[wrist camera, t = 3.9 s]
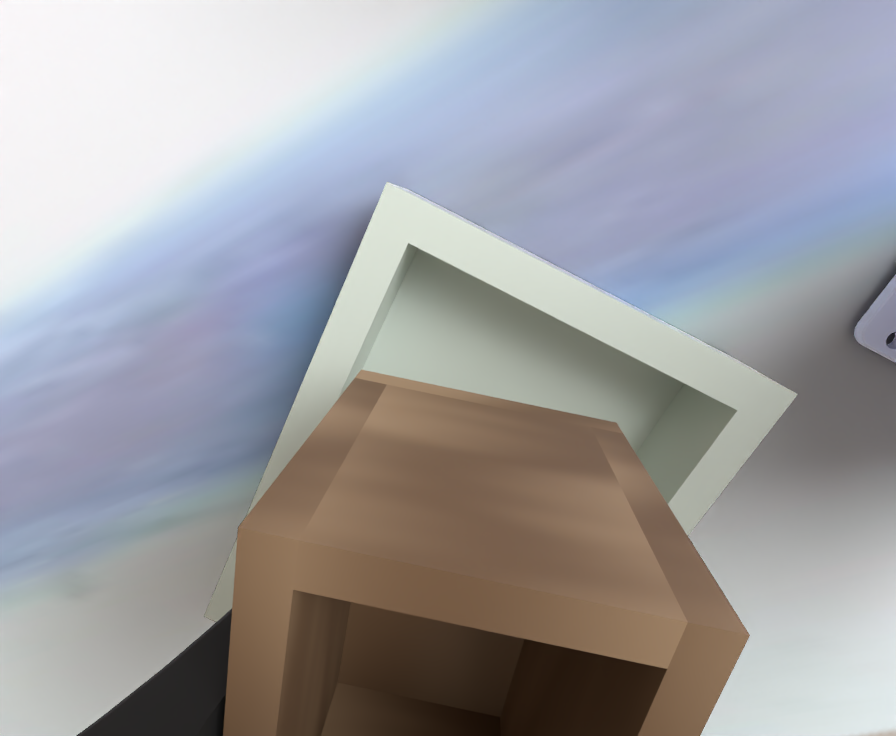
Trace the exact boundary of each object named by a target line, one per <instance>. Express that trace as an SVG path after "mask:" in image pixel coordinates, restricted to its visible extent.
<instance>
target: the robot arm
mask: <svg viewBox="0 0 896 736" xmlns="http://www.w3.org/2000/svg"><path fill="white" fill-rule="evenodd" d="M893 332H895V338H894V340H893V341H892V342H891V343H890V344H889V345H886V339H887V337H888V336H889V335H890V334H891V333H893ZM854 336H855V339H856V341H857V342H858V343H859V344H861V345H862V346H864V347H866V348H868V349H870V350H872V351H874V352H876V353H878V354H879V355H881V356H883V357H885V358H887V359H889V360H891V361H893V362H894V363H896V274H895V276H894V277H893V278H892V279H891V281H890V282H889V283H888V285H887V286H886V287H885V288H884V290H883V291H882V292H881V294H880V295H879V296H878V297H877V299H876V300H875V301H874V303H873V304H872V305H871V306H870V308H869V309H868V310H867V312H866V313H865V314H864V315H863V317H862V318H861V319H860V321H859V322H858V323H857V325H856V327H855V331H854ZM231 618H232V609H230V610H229V611H228V612H227V613H226V614H225V615H224V616H223V617H222V618H221V619H219V620H218V621H217V622H216V623H215V624H214V625H213V626H212V627H211V628H209V629H208V630H207V631H206V632H205V633H204V634H202V635H201V636H200V637H199V638H198V639H197V640H196V641H194V642H193V643H192V644H191V645H190V646H189V647H187V648H186V649H185V650H184V651H183V652H182V653H180V654H179V655H178V656H177V657H176V658H175V659H174V660H172V661H171V662H170V663H169V664H168V665H166V666H165V667H164V668H163V669H162V670H160V671H159V672H158V673H157V674H155V675H154V676H153V677H152V678H150V679H149V680H148V681H147V682H145V683H144V684H143V685H142V686H140V687H139V688H138V689H136V690H135V691H134V692H133V693H131V694H130V695H129V696H128V697H126V698H125V699H124V700H123V701H121V702H120V703H119V704H118V705H116V706H115V707H114V708H112V709H111V710H110V711H109V712H107V713H106V714H105V715H104V716H102V717H101V718H100V719H98V720H97V721H96V722H94V723H93V724H92V725H90V726H89V727H88V728H86V729H85V730H84V731H82V732H81V733H80V734H78V735H77V736H223V729H224V715H225V701H226V687H227V674H228V660H229V646H230V632H231Z"/></svg>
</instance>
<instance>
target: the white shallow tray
mask: <svg viewBox="0 0 896 736" xmlns="http://www.w3.org/2000/svg"><path fill="white" fill-rule="evenodd" d="M360 370H366V371H371V372H376V373H381V374H385V375H390V376H395V377H400V378H405V379H410V380H414V381H419V382H424V383H429V384H434V385H438V386H443V387H448V388H453V389H458V390H462V391H467V392H472V393H477V394H482V395H486V396H491V397H496V398H501V399H506V400H510V401H515V402H520V403H525V404H530V405H534V406H539V407H544V408H549V409H554V410H559V411H563V412H568V413H573V414H578V415H583V416H587V417H592V418H597V419H602V420H607V421H611V422H616V423H617V424H618V426H619V427H620V429H621V431H622V432H623V434H624V435H625V437H626V439H627V440H628V442H629V443H630V445H631V447H632V448H633V450H634V451H635V453H636V455H637V456H638V458H639V459H640V461H641V463H642V464H643V466H644V467H645V469H646V470H647V472H648V474H649V475H650V477H651V478H652V480H653V482H654V483H655V485H656V486H657V488H658V490H659V491H660V493H661V494H662V496H663V498H664V499H665V501H666V502H667V504H668V506H669V507H670V509H671V510H672V512H673V514H674V515H675V517H676V518H677V520H678V522H679V523H680V525H681V526H682V528H683V530H684V531H685V533H686V534H687V536H688V535H689V534H690V533H691V531H692V530H693V529H694V528H695V526H696V525H697V524H698V522H699V521H700V520H701V519H702V517H703V516H704V515H705V513H706V512H707V511H708V510H709V508H710V507H711V506H712V504H713V503H714V502H715V501H716V499H717V498H718V497H719V495H720V494H721V493H722V492H723V490H724V489H725V488H726V486H727V485H728V484H729V483H730V481H731V480H732V479H733V477H734V476H735V475H736V474H737V472H738V471H739V470H740V468H741V467H742V466H743V465H744V463H745V462H746V461H747V459H748V458H749V457H750V456H751V454H752V453H753V452H754V450H755V449H756V448H757V447H758V445H759V444H760V443H761V441H762V440H763V439H764V438H765V436H766V435H767V434H768V432H769V431H770V430H771V429H772V427H773V426H774V425H775V423H776V422H777V421H778V420H779V418H780V417H781V416H782V414H783V413H784V412H785V411H786V409H787V408H788V407H789V405H790V404H791V403H792V402H793V400H794V399H795V398H796V396H797V395H798V394H797V393H795V392H793V391H792V390H790V389H788V388H786V387H784V386H783V385H781V384H779V383H777V382H776V381H774V380H772V379H770V378H769V377H767V376H765V375H763V374H762V373H760V372H758V371H756V370H754V369H753V368H751V367H749V366H747V365H746V364H744V363H742V362H740V361H739V360H737V359H735V358H733V357H731V356H730V355H728V354H726V353H724V352H722V351H720V350H718V349H716V348H714V347H712V346H710V345H708V344H707V343H705V342H703V341H701V340H699V339H697V338H695V337H693V336H691V335H689V334H687V333H685V332H683V331H681V330H679V329H678V328H676V327H674V326H672V325H670V324H668V323H666V322H664V321H662V320H660V319H658V318H656V317H654V316H652V315H650V314H649V313H647V312H645V311H643V310H641V309H639V308H637V307H635V306H633V305H631V304H629V303H627V302H625V301H623V300H621V299H619V298H618V297H616V296H614V295H612V294H610V293H608V292H606V291H604V290H602V289H600V288H598V287H596V286H594V285H592V284H590V283H589V282H587V281H585V280H583V279H581V278H579V277H577V276H575V275H573V274H571V273H569V272H567V271H565V270H563V269H561V268H560V267H558V266H556V265H554V264H552V263H550V262H548V261H546V260H544V259H542V258H540V257H538V256H536V255H534V254H532V253H531V252H529V251H527V250H525V249H523V248H521V247H519V246H517V245H515V244H513V243H511V242H509V241H507V240H505V239H503V238H501V237H500V236H498V235H496V234H494V233H492V232H490V231H488V230H486V229H484V228H482V227H480V226H478V225H476V224H474V223H472V222H471V221H469V220H467V219H465V218H463V217H461V216H459V215H457V214H455V213H453V212H451V211H449V210H447V209H445V208H443V207H442V206H440V205H438V204H436V203H434V202H432V201H430V200H428V199H426V198H424V197H422V196H420V195H418V194H416V193H414V192H412V191H411V190H408V189H406V188H403V187H400V186H397V185H394V184H391V183H389V182H387V183H386V185H385V187H384V190H383V192H382V194H381V197H380V199H379V202H378V204H377V206H376V209H375V211H374V213H373V216H372V218H371V221H370V223H369V225H368V228H367V230H366V232H365V235H364V237H363V240H362V242H361V244H360V247H359V249H358V251H357V254H356V256H355V259H354V261H353V263H352V266H351V268H350V270H349V273H348V275H347V277H346V280H345V282H344V285H343V287H342V289H341V292H340V294H339V296H338V299H337V301H336V304H335V306H334V308H333V311H332V313H331V315H330V318H329V320H328V323H327V325H326V327H325V330H324V332H323V334H322V337H321V339H320V342H319V344H318V346H317V349H316V351H315V353H314V356H313V358H312V361H311V363H310V365H309V368H308V370H307V372H306V375H305V377H304V380H303V382H302V384H301V387H300V389H299V391H298V394H297V396H296V399H295V401H294V403H293V406H292V408H291V410H290V413H289V415H288V417H287V420H286V422H285V425H284V427H283V429H282V432H281V434H280V436H279V439H278V441H277V444H276V446H275V448H274V451H273V453H272V455H271V458H270V460H269V463H268V465H267V467H266V470H265V472H264V474H263V477H262V479H261V482H260V484H259V486H258V489H257V491H256V493H255V496H254V498H253V501H252V503H251V505H250V508H249V510H248V512H247V515H248V514H249V513H250V511H251V510H252V509H253V508H254V506H255V505H256V504H257V502H258V501H259V500H260V499H261V497H262V496H263V495H264V493H265V492H266V491H267V490H268V488H269V487H270V486H271V484H272V483H273V482H274V481H275V479H276V478H277V477H278V476H279V474H280V473H281V472H282V470H283V469H284V468H285V467H286V465H287V464H288V463H289V461H290V460H291V459H292V458H293V456H294V455H295V454H296V452H297V451H298V450H299V449H300V447H301V446H302V445H303V443H304V442H305V441H306V440H307V438H308V437H309V436H310V435H311V433H312V432H313V431H314V429H315V428H316V427H317V426H318V424H319V423H320V422H321V420H322V419H323V418H324V417H325V415H326V414H327V413H328V411H329V410H330V409H331V408H332V406H333V405H334V404H335V403H336V401H337V400H338V399H339V397H340V396H341V395H342V394H343V392H344V391H345V390H346V388H347V387H348V386H349V385H350V383H351V382H352V381H353V379H354V378H355V377H356V376H357V374H358V373H359V372H360ZM247 515H246V516H247ZM245 518H246V517H245ZM236 548H237V539H236V541H235V543H234V546H233V548H232V550H231V553H230V555H229V557H228V560H227V562H226V565H225V567H224V569H223V572H222V574H221V576H220V579H219V581H218V584H217V586H216V588H215V591H214V593H213V595H212V598H211V600H210V603H209V605H208V607H207V610H206V612H205V614H204V617H206V618H208V619H210V620H213V621H215V622H217V621H218V620H219V619H221V618H222V617H223V616H224V615H225V614H226V613H227V612H228V611H229V610H230V609H232V604H233V590H234V576H235V562H236Z"/></svg>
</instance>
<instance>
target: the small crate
mask: <svg viewBox="0 0 896 736" xmlns="http://www.w3.org/2000/svg"><path fill="white" fill-rule="evenodd" d="M749 636H750V635H749V633H748V632H747V630H746V629H745V627H744V625H743V624H742V622H741V621H740V619H739V617H738V616H737V614H736V613H735V611H734V609H733V608H732V606H731V605H730V603H729V601H728V600H727V598H726V597H725V595H724V593H723V592H722V590H721V589H720V587H719V585H718V584H717V582H716V581H715V579H714V577H713V576H712V574H711V573H710V571H709V569H708V568H707V566H706V565H705V563H704V561H703V560H702V558H701V557H700V555H699V554H698V552H697V550H696V549H695V547H694V546H693V544H692V542H691V541H690V539H689V538H688V536H687V534H686V533H685V531H684V530H683V528H682V526H681V525H680V523H679V522H678V520H677V518H676V517H675V515H674V514H673V512H672V510H671V509H670V507H669V506H668V504H667V502H666V501H665V499H664V498H663V496H662V494H661V493H660V491H659V490H658V488H657V486H656V485H655V483H654V482H653V480H652V478H651V477H650V475H649V474H648V472H647V470H646V469H645V467H644V466H643V464H642V463H641V461H640V459H639V458H638V456H637V455H636V453H635V451H634V450H633V448H632V447H631V445H630V443H629V442H628V440H627V439H626V437H625V435H624V434H623V432H622V431H621V429H620V427H619V426H618V424H617V423H616V422H611V421H607V420H602V419H597V418H592V417H587V416H583V415H578V414H573V413H568V412H563V411H559V410H554V409H549V408H544V407H539V406H534V405H530V404H525V403H520V402H515V401H510V400H506V399H501V398H496V397H491V396H486V395H482V394H477V393H472V392H467V391H462V390H458V389H453V388H448V387H443V386H438V385H434V384H429V383H424V382H419V381H414V380H410V379H405V378H400V377H395V376H390V375H385V374H381V373H376V372H371V371H366V370H360V372H359V373H358V374H357V376H356V377H355V378H354V379H353V381H352V382H351V383H350V385H349V386H348V387H347V388H346V390H345V391H344V392H343V394H342V395H341V396H340V397H339V399H338V400H337V401H336V403H335V404H334V405H333V406H332V408H331V409H330V410H329V411H328V413H327V414H326V415H325V417H324V418H323V419H322V420H321V422H320V423H319V424H318V426H317V427H316V428H315V429H314V431H313V432H312V433H311V435H310V436H309V437H308V438H307V440H306V441H305V442H304V443H303V445H302V446H301V447H300V449H299V450H298V451H297V452H296V454H295V455H294V456H293V458H292V459H291V460H290V461H289V463H288V464H287V465H286V467H285V468H284V469H283V470H282V472H281V473H280V474H279V476H278V477H277V478H276V479H275V481H274V482H273V483H272V484H271V486H270V487H269V488H268V490H267V491H266V492H265V493H264V495H263V496H262V497H261V499H260V500H259V501H258V502H257V504H256V505H255V506H254V508H253V509H252V510H251V511H250V513H249V514H248V515H247V516H246V518H245V519H244V520H243V522H242V523H241V524H240V525H239V527H238V535H237V548H236V562H235V576H234V590H233V604H232V618H231V632H230V646H229V660H228V674H227V687H226V701H225V715H224V729H223V736H700V735H701V733H702V731H703V729H704V727H705V725H706V722H707V720H708V718H709V716H710V714H711V712H712V710H713V708H714V706H715V704H716V702H717V700H718V698H719V696H720V694H721V692H722V690H723V688H724V686H725V684H726V682H727V680H728V678H729V676H730V674H731V672H732V670H733V668H734V666H735V664H736V662H737V660H738V658H739V656H740V654H741V652H742V650H743V648H744V646H745V644H746V642H747V640H748V638H749Z"/></svg>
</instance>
